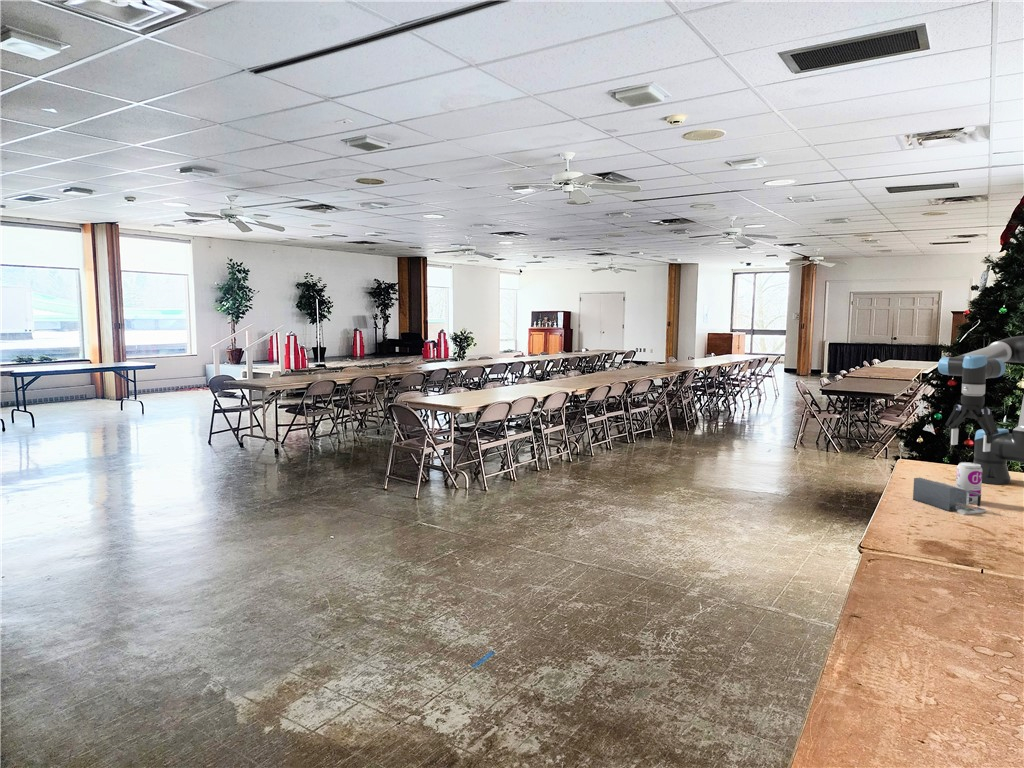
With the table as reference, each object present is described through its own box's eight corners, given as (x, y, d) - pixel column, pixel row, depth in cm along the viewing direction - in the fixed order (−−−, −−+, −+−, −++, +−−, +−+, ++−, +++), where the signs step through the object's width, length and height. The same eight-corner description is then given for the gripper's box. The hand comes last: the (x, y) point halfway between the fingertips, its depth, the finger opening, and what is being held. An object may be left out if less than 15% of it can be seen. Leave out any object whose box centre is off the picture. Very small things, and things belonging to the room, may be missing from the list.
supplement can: (985, 504, 251) (987, 466, 249) (964, 504, 251) (966, 466, 249) (971, 498, 259) (973, 461, 257) (950, 498, 259) (952, 462, 258)
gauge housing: (935, 497, 261) (936, 475, 260) (985, 512, 241) (986, 489, 240) (912, 499, 258) (913, 478, 257) (961, 515, 238) (962, 491, 237)
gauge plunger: (936, 495, 260) (936, 481, 259) (980, 509, 241) (981, 493, 241) (933, 496, 259) (934, 481, 259) (978, 509, 241) (979, 494, 240)
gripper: (936, 391, 262) (934, 442, 264) (996, 399, 238) (993, 455, 240) (951, 390, 263) (948, 441, 266) (1012, 398, 239) (1008, 453, 242)
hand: (969, 448), depth 253 cm, fingers open, 13 cm apart
